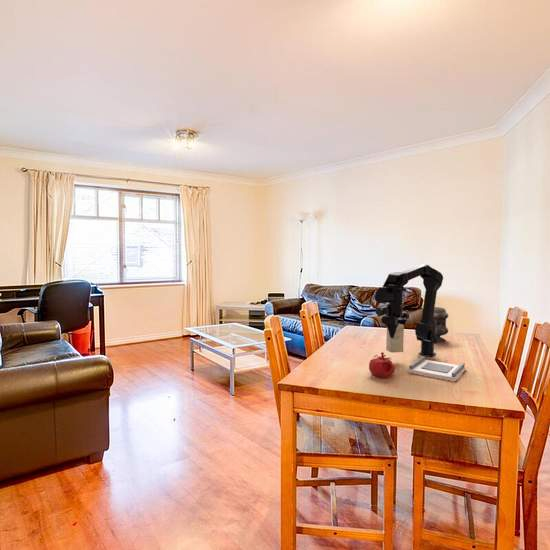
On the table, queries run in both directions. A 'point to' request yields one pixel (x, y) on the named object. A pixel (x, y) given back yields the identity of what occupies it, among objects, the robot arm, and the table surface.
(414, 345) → the table surface
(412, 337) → the table surface
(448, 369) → the stand
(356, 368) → the table surface
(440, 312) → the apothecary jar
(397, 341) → the skincare box
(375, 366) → the pomegranate
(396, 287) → the robot arm
